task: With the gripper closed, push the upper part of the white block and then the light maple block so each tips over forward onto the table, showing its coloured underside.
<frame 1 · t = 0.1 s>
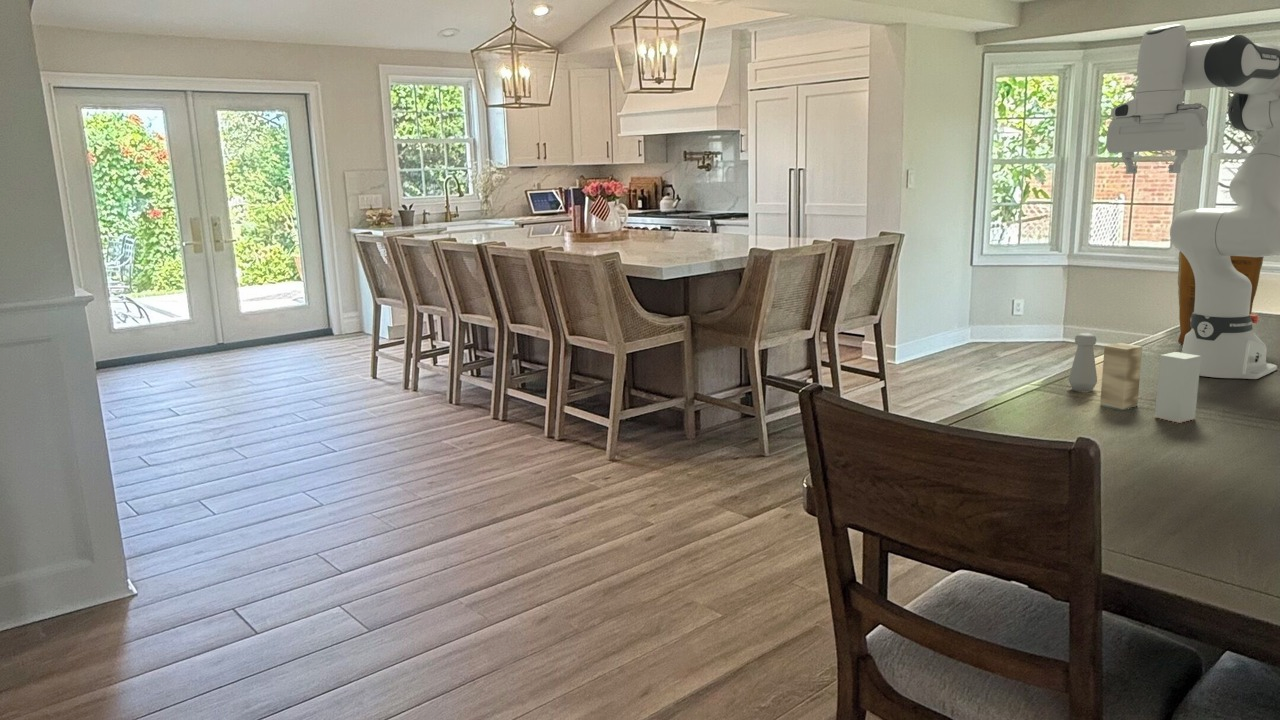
hand: (1152, 173, 189), 48 cm above the table, tool pointing down, fingers open, 8 cm apart
salt shaker: (1082, 390, 202), on the table
pancake mix bag: (1212, 346, 242), on the table
maple block: (1118, 406, 188), on the table
white block: (1174, 418, 177), on the table
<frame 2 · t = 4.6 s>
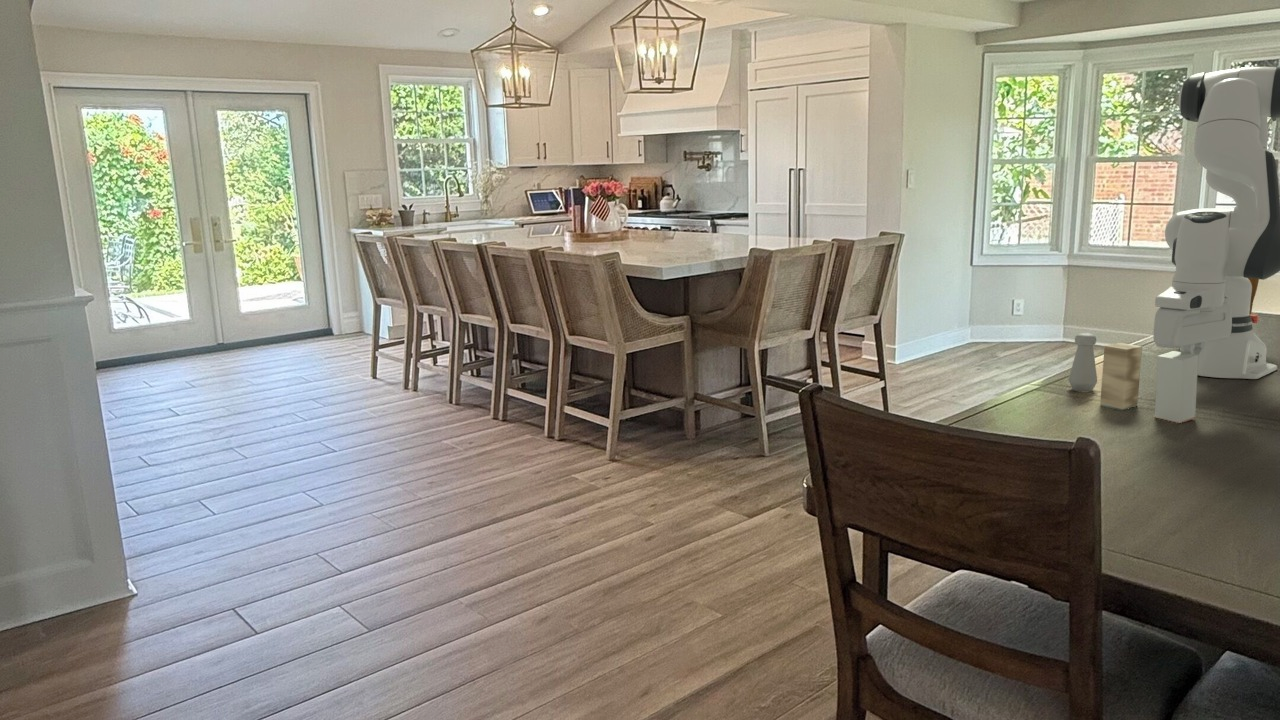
hand: (1190, 365, 176), 11 cm above the table, tool pointing down, fingers closed
white block: (1174, 418, 177), on the table, touching gripper
everything else where it was.
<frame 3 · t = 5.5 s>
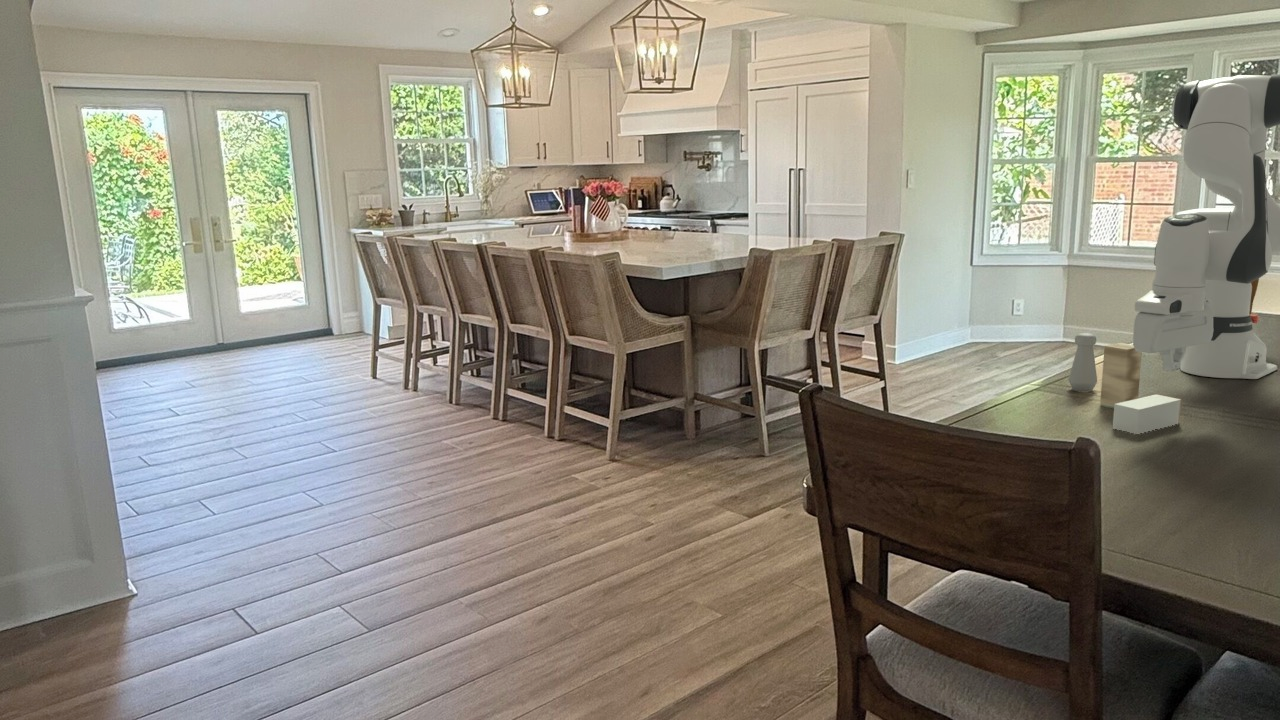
hand: (1171, 370, 174), 10 cm above the table, tool pointing down, fingers closed
white block: (1167, 409, 176), point 2 cm above the table, tilted 90°
everything else where it was.
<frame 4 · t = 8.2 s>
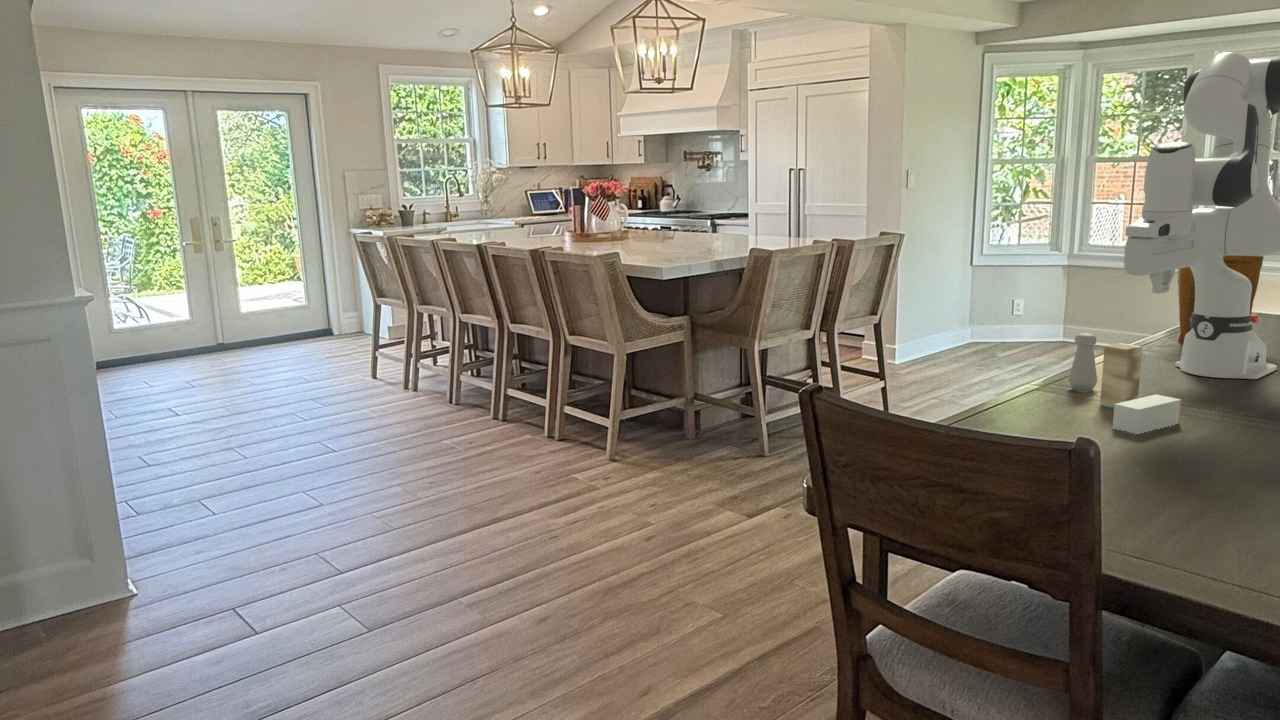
hand: (1160, 292, 183), 24 cm above the table, tool pointing down, fingers closed
nothing on the table moved.
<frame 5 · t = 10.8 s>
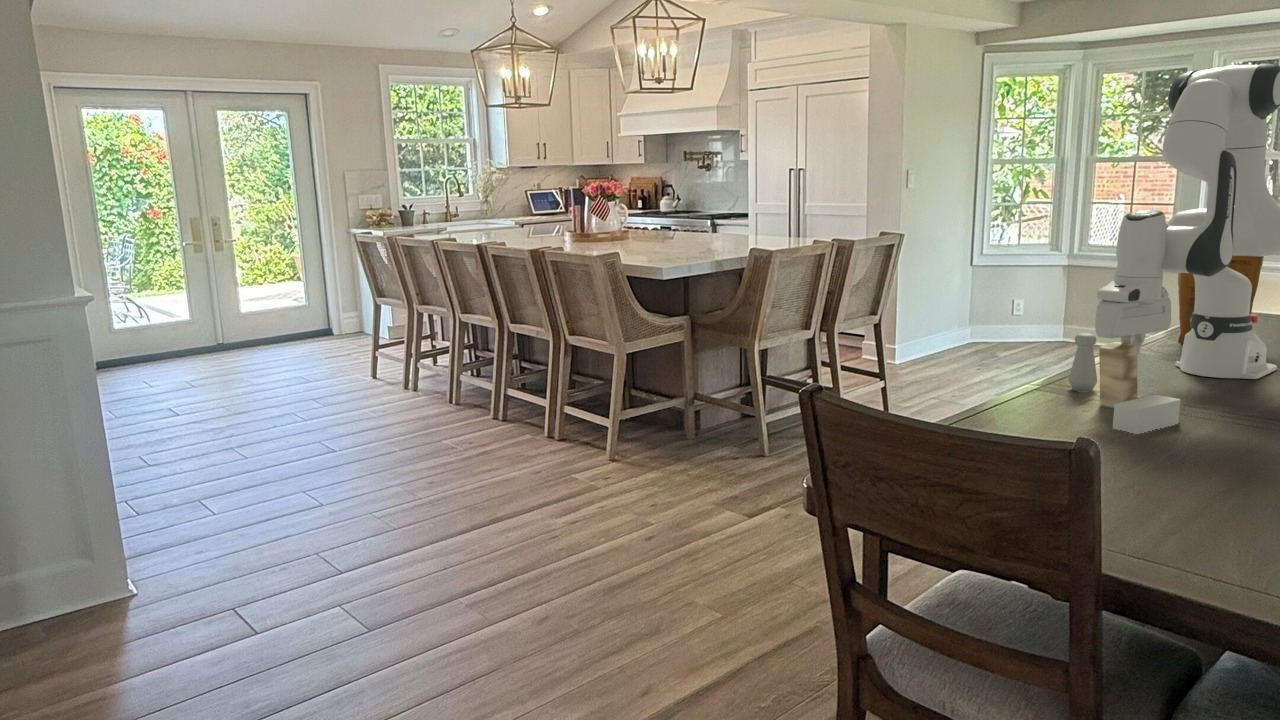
hand: (1131, 355, 187), 11 cm above the table, tool pointing down, fingers closed
maple block: (1118, 404, 188), on the table, tilted 7°
everything else where it was.
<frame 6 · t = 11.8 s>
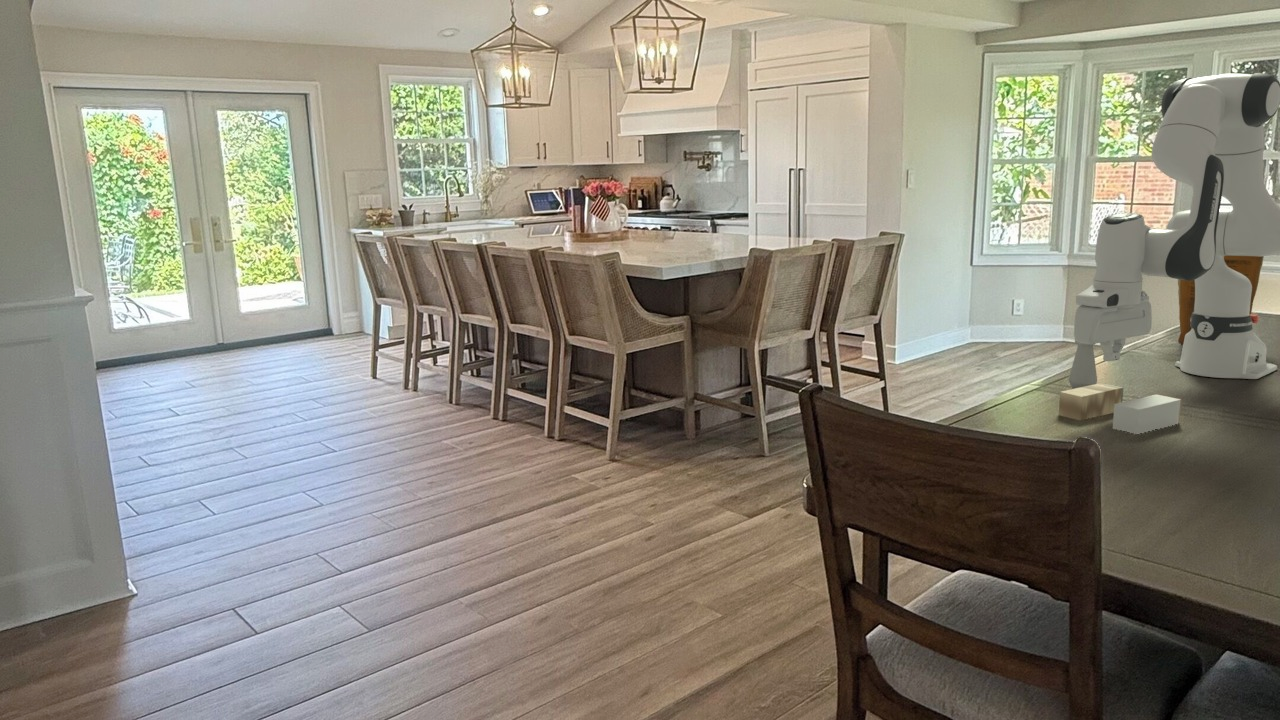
hand: (1111, 360, 184), 10 cm above the table, tool pointing down, fingers closed
maple block: (1111, 396, 186), point 2 cm above the table, tilted 90°
everything else where it was.
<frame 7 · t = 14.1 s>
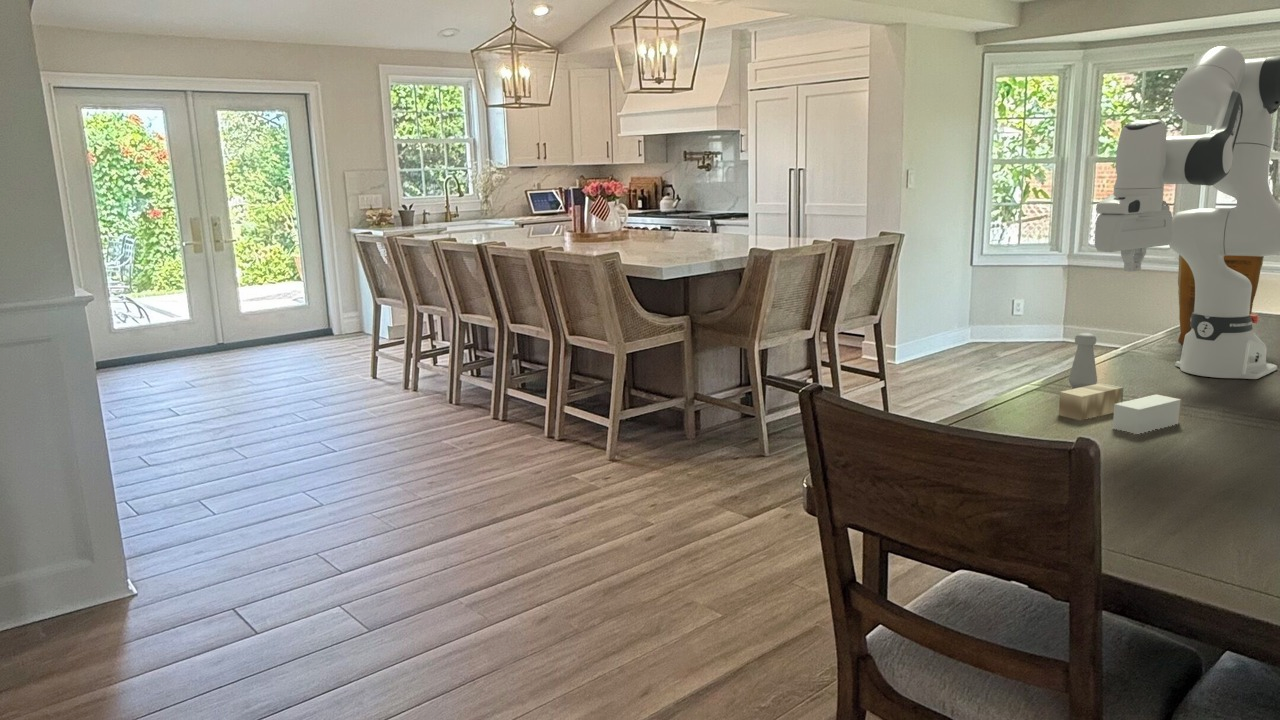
hand: (1132, 270, 182), 29 cm above the table, tool pointing down, fingers closed
nothing on the table moved.
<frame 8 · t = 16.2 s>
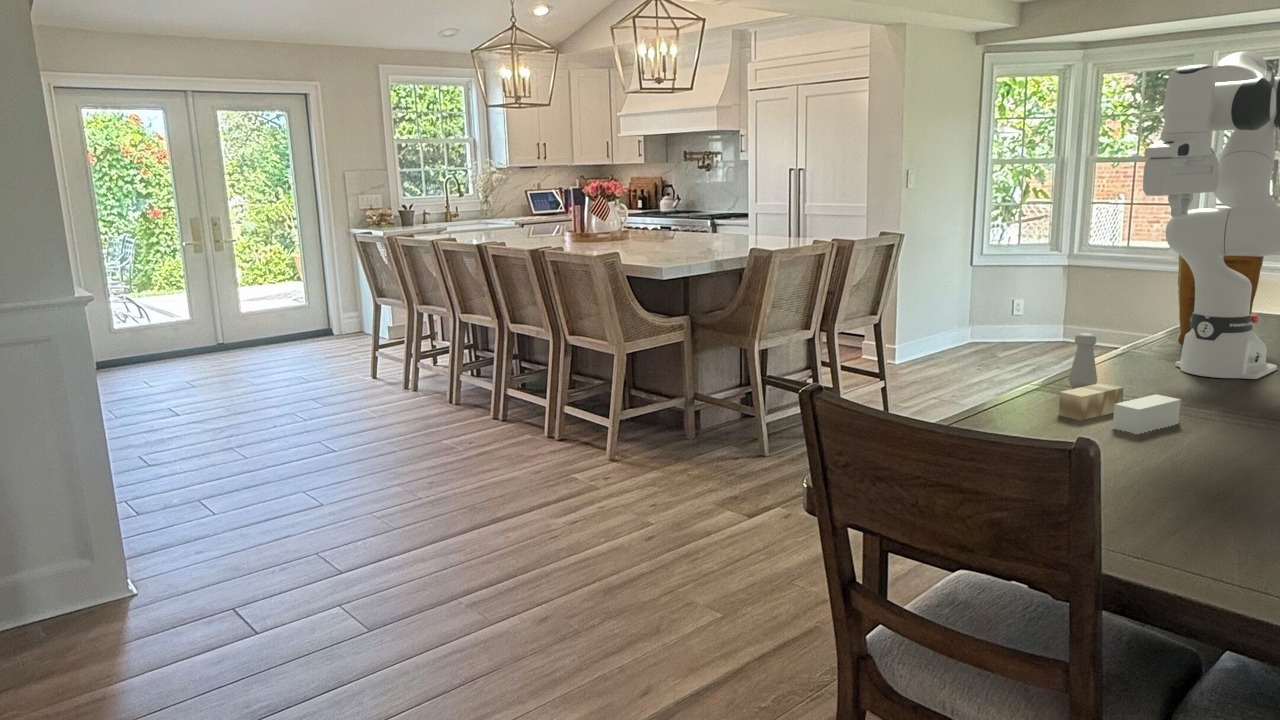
hand: (1178, 216, 183), 39 cm above the table, tool pointing down, fingers closed
nothing on the table moved.
at the end: white block tilted 90°; maple block tilted 90°; maple block inside the target area (11.4 cm from its centre), point 2.4 cm above the table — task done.
